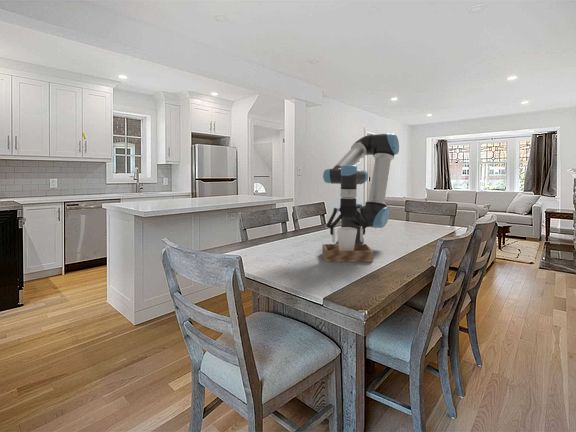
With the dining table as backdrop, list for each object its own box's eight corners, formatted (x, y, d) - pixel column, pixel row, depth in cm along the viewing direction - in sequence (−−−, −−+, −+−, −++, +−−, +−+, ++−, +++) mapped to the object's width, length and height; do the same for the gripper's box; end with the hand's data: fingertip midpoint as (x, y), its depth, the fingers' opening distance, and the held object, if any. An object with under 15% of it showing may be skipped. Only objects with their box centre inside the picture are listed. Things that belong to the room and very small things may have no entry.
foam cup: (354, 258, 157) (355, 231, 155) (334, 256, 160) (335, 229, 159) (357, 253, 166) (358, 227, 164) (338, 252, 169) (339, 226, 167)
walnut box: (325, 261, 156) (326, 251, 155) (322, 253, 171) (322, 244, 170) (372, 261, 156) (373, 251, 155) (365, 253, 171) (365, 244, 170)
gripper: (323, 198, 155) (322, 243, 159) (376, 198, 156) (375, 242, 159) (321, 197, 163) (320, 239, 166) (372, 196, 163) (371, 239, 166)
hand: (347, 241), depth 163 cm, fingers open, 13 cm apart
